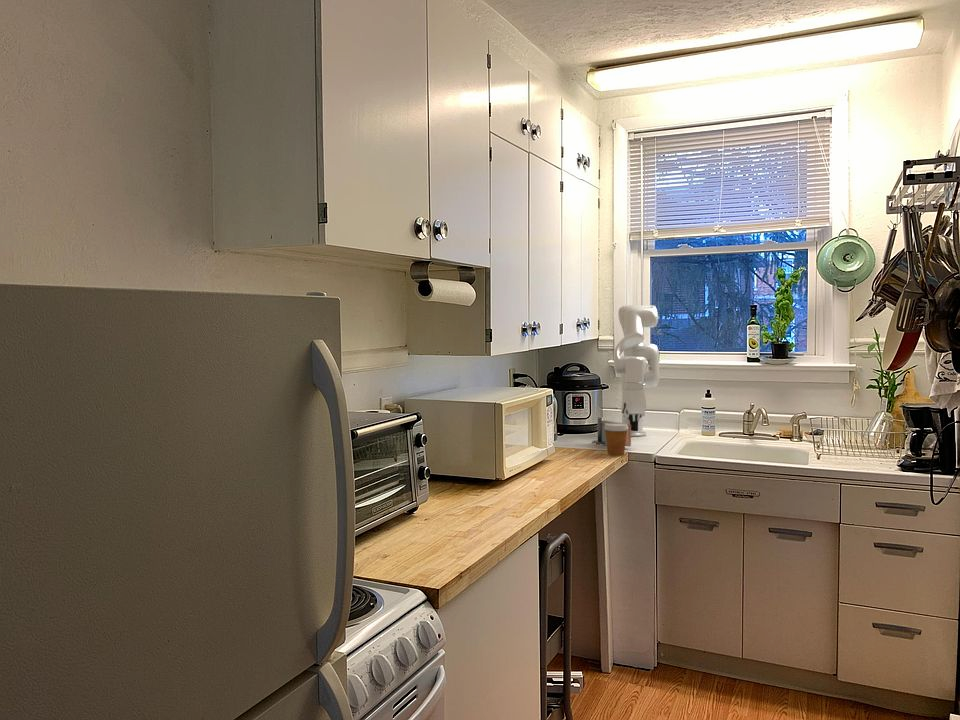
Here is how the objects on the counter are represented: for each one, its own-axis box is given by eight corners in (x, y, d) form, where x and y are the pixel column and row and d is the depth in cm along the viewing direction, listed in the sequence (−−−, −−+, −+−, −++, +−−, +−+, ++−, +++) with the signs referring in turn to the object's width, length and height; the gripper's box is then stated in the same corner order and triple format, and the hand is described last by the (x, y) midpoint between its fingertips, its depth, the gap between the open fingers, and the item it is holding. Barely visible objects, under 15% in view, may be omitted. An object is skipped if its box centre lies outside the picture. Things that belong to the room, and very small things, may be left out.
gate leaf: (601, 441, 316) (601, 420, 315) (604, 440, 317) (605, 420, 316) (627, 446, 301) (627, 424, 301) (630, 446, 302) (631, 424, 302)
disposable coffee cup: (616, 457, 284) (616, 426, 283) (598, 453, 291) (598, 423, 291) (633, 454, 289) (633, 424, 289) (615, 451, 297) (615, 421, 296)
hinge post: (588, 442, 319) (589, 417, 318) (601, 441, 322) (601, 416, 322) (599, 445, 313) (599, 419, 312) (611, 443, 316) (612, 418, 316)
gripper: (641, 385, 313) (641, 428, 314) (614, 386, 306) (614, 430, 306) (654, 386, 307) (653, 430, 307) (626, 387, 299) (626, 432, 300)
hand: (633, 430), depth 307 cm, fingers closed
